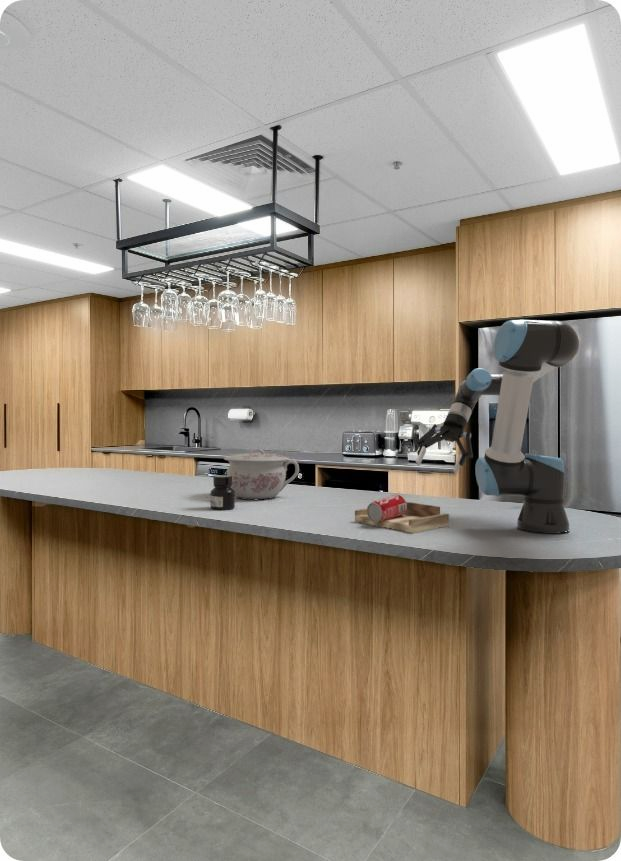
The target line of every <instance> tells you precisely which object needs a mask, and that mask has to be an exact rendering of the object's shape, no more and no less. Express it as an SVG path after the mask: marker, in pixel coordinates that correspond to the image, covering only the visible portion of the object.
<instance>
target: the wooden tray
mask: <svg viewBox="0 0 621 861" xmlns="http://www.w3.org/2000/svg"><path fill="white" fill-rule="evenodd" d="M406 503H407V510H406V512H405V514H404V515H402V516H399V517H396V518H392V519H387V520H382V521H381V522H373V521H371V520H370V519H369V517H368V515H367V508H361V509H356V510H354V522H355V523H358V522H361V523H360V524H363V523H366V524H365V525H369V524H371V525H370V526H374V525H377V526H376V527H379V526H382V527H381V528H384V527H387V528H386V529H389V528H392V529H391V530H394V529H397V530H396V531H399V530H401V531H400V532H404V531H405V532H406V533H409V532H410V533H411V534H415V533H421V532H425V531H430V529H431V530H435V528H436V529H440V528H439V527H441V528H444V527H445V526H446V527H449V525H450V524H449V523H450V522H449V520H450V518H449V516H450V514H449V513H445V512H444V513H441V506H437V505H430V504H424V503H417V502H410V501H406Z"/></svg>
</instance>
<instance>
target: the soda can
mask: <svg viewBox="0 0 621 861" xmlns="http://www.w3.org/2000/svg"><path fill="white" fill-rule="evenodd" d="M406 502H407V500H406V499H405V497H403V496H402V495H401V494H393V495H389V496H387V497H386V496H385V497H383V498H379V499H376V500H373V501H371V502H370V503H369V504H368V506H367V508H366V509H367V515H368V517H369V519H370V520H371V521H373V522H381V521H382V520H387V519H392V518H396V517H399V516H402V515H404V514H405V512H406V510H407V503H406Z"/></svg>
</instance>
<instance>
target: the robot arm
mask: <svg viewBox="0 0 621 861" xmlns="http://www.w3.org/2000/svg"><path fill="white" fill-rule="evenodd" d="M579 348H580V339H579V335H578V334H577V332H576V330H575V329H574V328H573V327H572V326H571V325H570V324H568V323H566V322H564V321H560V320H540V319H538V320H537V319H511V320H507V321H505V322H504V323H502V325H501V326H500V327H499V329H498V330H497V332H496V335H495V337H494V342H493V356H494V358H495V360H496V361H498V367H499V368H500V369H501V370H502V373H490V371H488V370H487V369H484V368H483V367H478V368H474V369H473V370H472V371H471V372H470V373H469V374H468V375H467V376H466V378H465V380H463V381H462V383H461V384H460V386H458V388H457V389H458V390H457V392H456V395H455V397H454V400H453V402H452V404H451V406H450V408H449V410H448V411H447V412H448V413H447V415H446V417H445V419H444V421H443V424H442V426H437V424H436V423H435V424H433V425H432V427H431V428H430V429H429V430H428V431H427V432H426V433H424V434H423V435H422V436H421V437H420V438H418V439H417V440H416V445H417V447H418V450H417V458H416V460H415V463H416V465H417V466H421V464H422V461H423V459H424V457H425V455H426V452H427V449H428V448H430V447H431V446H433V445H435V444H436V443H438V442H442V441H446V442H448V441H449V442H451V443H454V442H456V445H457V446H458V450H460V453H459V455H458V456H457V457H458V458H457V460H456V461H455V465H454V467H453V470H452V471H453V474H454V475H458V473H459V470H460V467H461V466H462V467H463V466H464V465H465V463H466V460H467V459H468V458H469V459H473V458H474V454H473V449H472V447H473V446H472V443H471V442H472V441H471V439H472V433H471V431H470V430H467V431H465V429H466V427H467V425H468V422H469V420H470V417H471V415H472V413H473V410H474V408H475V406H476V404H477V402H478V401H479V399H480V398H481V397H482V396H498V401H497V402H498V403H497V408H496V415H495V422H494V427H493V433H492V439H491V445H490V446H489V447H488V448H486V449H485V450H484V457H479V458H477V459H476V463H475V478H476V483H477V486H478V488H479V490H480V491H481V493H482V494H484V495H485V496H494V497H499V496H501V497H509V496H510V497H512V496H513V497H514V496H518V497H519V496H520V497H523V503H522V508H520V513H519V515H518V518H517V521H516V522H517V524H516V525H517V526H516V528H517V529H520V530H521V531H526V532H530V531H531V532H530V533H537V532H543V533H542V534H559V533H558V532H565V531H568V530H569V531H570V523H569V518H568V515H567V512H566V510H565V509H566V508H565V505H564V503H565V502H564V501H565V497H564V496H565V474H566V472H565V471H566V470H565V463H564V462H565V461H564V460H563V459H562V458H560V457H555V456H547V455H541V454H534V453H523V452H522V451H521V450H522V444H523V439H524V433H525V429H526V423H527V417H528V412H529V408H530V407H529V406H530V400H531V395H532V390H533V384H534V383H535V382H536V381H537V380H539V379H540V378H542V377H543V376H544V375H546V374H548V373H549V372H551V371H552V370H553V369H555V368H561V367H564V366H565V365H566V364H569V363H570V362H571V361H573V359H574V358H575V357H576V355H577V354H578V352H579ZM435 434H436V435H435ZM463 436H464V439H465V442H466V447H467V451H466V450H465V447H464V445H463V444H462V442H461V440H460V438H462V437H463Z"/></svg>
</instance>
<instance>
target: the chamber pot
mask: <svg viewBox="0 0 621 861" xmlns="http://www.w3.org/2000/svg"><path fill="white" fill-rule="evenodd" d="M223 460H225V461H228V463H229V466H228V467H227V472H226V473H227V474H226V475H228V476H232V486H231V488H232V489H233V490H234V491H235V497H238V498H240V499H242V498H244V499H243V500H248V499H265V500H269V499H268V498H270V499H273V498H275V497H278V495H279V494H280V492H282V491H283V489H285V488H286V486H287V485H288V484H289V483H291V482H292V481H294V480H295V479H296V477H297V476H298V475H299V472H300V466H299V463H298V461H297V459H295V458H292V457H291V458H289V457H288V456H285V455H281V454H275V453H268V452H267V453H265V450H263V449H261V448H259V447H258V448H257V447H256V448H252V449H251V450H250V451H249V452H247V453H245V452H244V453H239V454H231V455H229V456H226V457H223ZM290 464H293V465H294V469H295V470H294V473H293V475H292V476H291V477H290V478H288V479H287V480H286V477H287V471H288V465H290Z"/></svg>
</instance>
